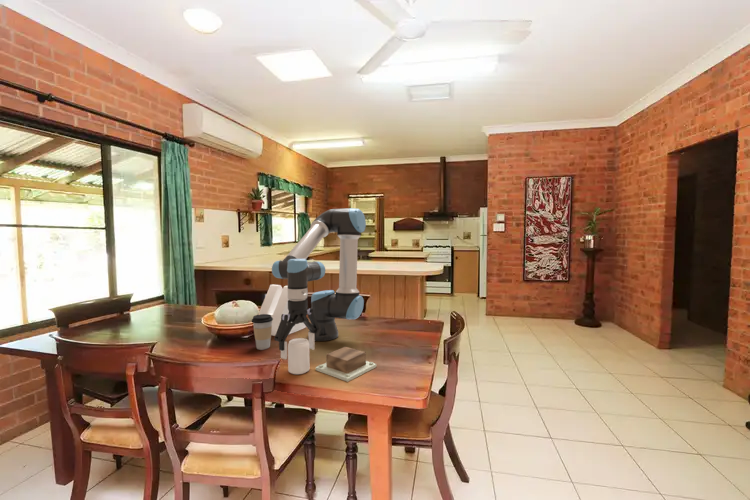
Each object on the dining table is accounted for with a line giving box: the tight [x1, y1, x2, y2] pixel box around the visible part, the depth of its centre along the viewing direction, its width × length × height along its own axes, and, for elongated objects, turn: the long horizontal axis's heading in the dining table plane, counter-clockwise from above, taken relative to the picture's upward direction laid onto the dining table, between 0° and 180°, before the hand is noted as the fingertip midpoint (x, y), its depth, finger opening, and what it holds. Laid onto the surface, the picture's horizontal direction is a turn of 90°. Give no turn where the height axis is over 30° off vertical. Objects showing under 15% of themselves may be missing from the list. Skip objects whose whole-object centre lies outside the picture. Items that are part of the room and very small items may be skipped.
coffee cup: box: [251, 314, 273, 351], centre depth 162 cm, size 9×9×15 cm
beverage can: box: [287, 337, 311, 375], centre depth 135 cm, size 8×8×12 cm
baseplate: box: [315, 360, 377, 383], centre depth 138 cm, size 17×17×2 cm
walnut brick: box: [325, 346, 367, 374], centre depth 138 cm, size 11×11×5 cm
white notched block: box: [258, 284, 307, 337], centre depth 187 cm, size 19×15×25 cm
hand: (298, 353), depth 135 cm, fingers open, 13 cm apart
